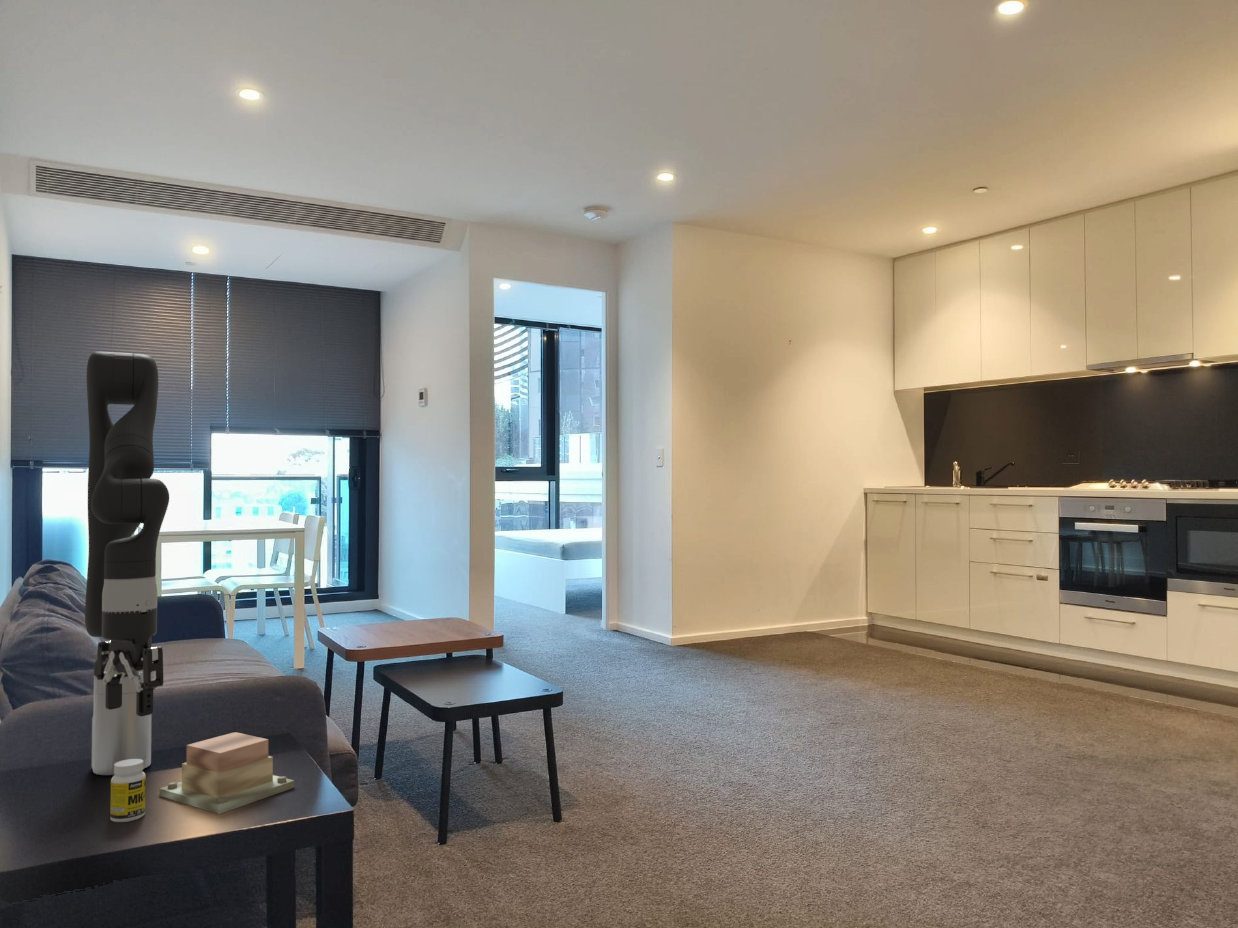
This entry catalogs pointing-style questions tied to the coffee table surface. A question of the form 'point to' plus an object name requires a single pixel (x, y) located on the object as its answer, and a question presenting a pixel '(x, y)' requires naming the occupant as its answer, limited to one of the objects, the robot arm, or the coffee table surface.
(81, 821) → the coffee table surface
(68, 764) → the coffee table surface
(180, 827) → the coffee table surface
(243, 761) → the stepped pedestal block
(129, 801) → the supplement bottle
